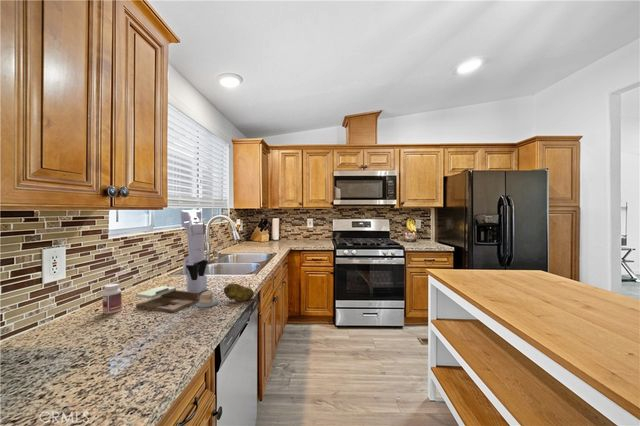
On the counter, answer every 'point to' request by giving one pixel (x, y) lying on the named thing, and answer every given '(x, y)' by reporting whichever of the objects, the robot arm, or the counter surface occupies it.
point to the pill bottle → (112, 299)
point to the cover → (156, 292)
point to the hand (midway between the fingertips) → (197, 277)
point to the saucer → (207, 304)
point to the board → (170, 301)
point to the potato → (238, 292)
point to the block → (206, 297)
